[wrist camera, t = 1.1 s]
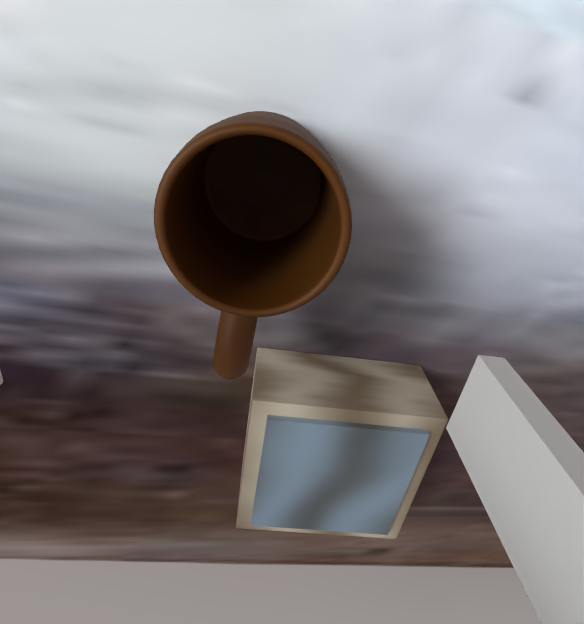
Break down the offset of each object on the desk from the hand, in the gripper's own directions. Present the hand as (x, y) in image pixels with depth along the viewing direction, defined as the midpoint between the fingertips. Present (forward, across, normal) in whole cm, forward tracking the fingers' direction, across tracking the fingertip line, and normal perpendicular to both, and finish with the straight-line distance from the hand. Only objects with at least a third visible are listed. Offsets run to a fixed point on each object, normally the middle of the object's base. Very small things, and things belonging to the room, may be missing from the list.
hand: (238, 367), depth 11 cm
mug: (+15, 0, 0) cm, 15 cm away
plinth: (+15, +6, -15) cm, 22 cm away
